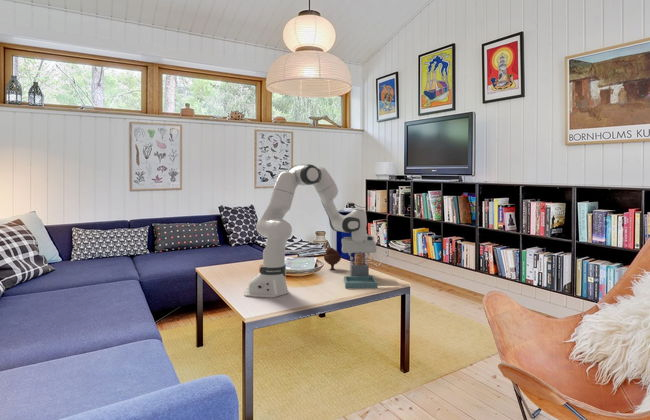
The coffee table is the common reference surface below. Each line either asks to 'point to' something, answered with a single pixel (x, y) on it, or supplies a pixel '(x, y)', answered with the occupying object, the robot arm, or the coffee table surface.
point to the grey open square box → (359, 269)
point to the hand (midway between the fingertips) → (359, 260)
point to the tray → (360, 282)
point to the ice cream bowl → (332, 257)
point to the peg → (358, 259)
